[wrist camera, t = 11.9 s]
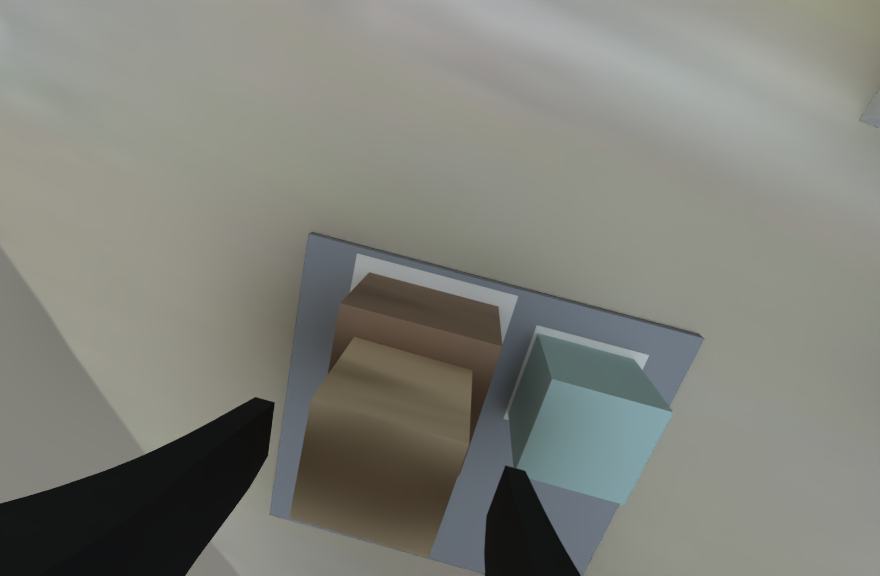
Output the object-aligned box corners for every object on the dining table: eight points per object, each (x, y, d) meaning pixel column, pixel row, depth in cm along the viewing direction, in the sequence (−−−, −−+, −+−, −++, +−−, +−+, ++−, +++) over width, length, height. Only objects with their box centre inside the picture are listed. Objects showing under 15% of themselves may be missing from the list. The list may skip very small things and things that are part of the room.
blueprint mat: (569, 590, 24) (571, 598, 23) (272, 509, 24) (269, 515, 24) (699, 334, 18) (704, 338, 18) (312, 232, 19) (308, 234, 18)
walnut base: (464, 415, 20) (459, 475, 17) (347, 383, 20) (316, 436, 17) (498, 306, 18) (502, 346, 15) (369, 272, 18) (339, 303, 15)
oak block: (441, 465, 16) (428, 558, 13) (333, 434, 16) (289, 517, 13) (472, 370, 15) (468, 443, 11) (354, 336, 15) (311, 398, 11)
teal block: (508, 413, 20) (514, 474, 16) (538, 332, 19) (551, 378, 15) (597, 438, 20) (624, 504, 16) (634, 359, 18) (673, 412, 15)
